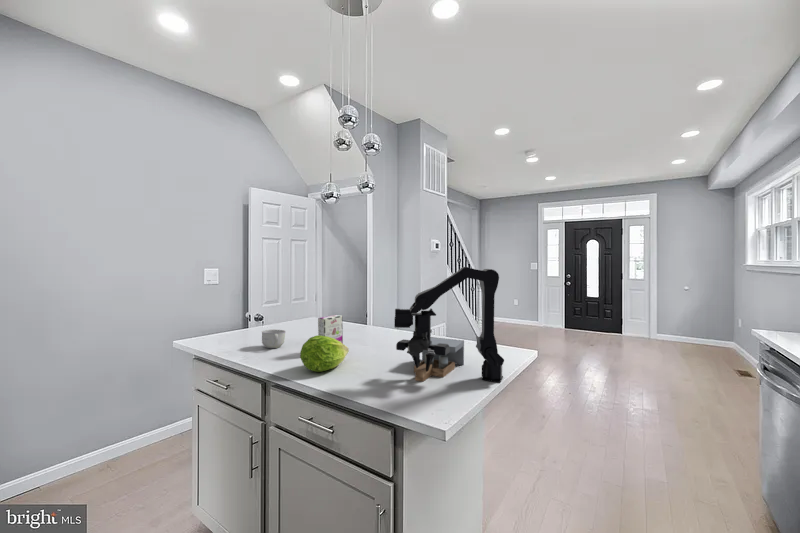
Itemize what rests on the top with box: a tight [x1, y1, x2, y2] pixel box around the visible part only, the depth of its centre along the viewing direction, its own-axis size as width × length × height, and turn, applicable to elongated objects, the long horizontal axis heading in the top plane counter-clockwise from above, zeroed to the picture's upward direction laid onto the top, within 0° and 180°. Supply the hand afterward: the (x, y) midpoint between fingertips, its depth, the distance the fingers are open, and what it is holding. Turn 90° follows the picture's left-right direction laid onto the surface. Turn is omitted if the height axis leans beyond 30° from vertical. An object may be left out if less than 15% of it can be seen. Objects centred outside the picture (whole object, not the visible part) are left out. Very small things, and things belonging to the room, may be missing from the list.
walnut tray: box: [413, 353, 456, 382], centre depth 137 cm, size 12×20×6 cm, turn 151°
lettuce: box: [299, 335, 350, 373], centre depth 144 cm, size 15×24×14 cm, turn 152°
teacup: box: [261, 329, 286, 349], centre depth 174 cm, size 14×11×8 cm
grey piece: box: [421, 336, 465, 366], centre depth 146 cm, size 18×12×10 cm
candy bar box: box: [317, 314, 344, 344], centre depth 167 cm, size 11×5×16 cm, turn 143°
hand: (422, 370), depth 130 cm, fingers closed on walnut tray, 3 cm apart
